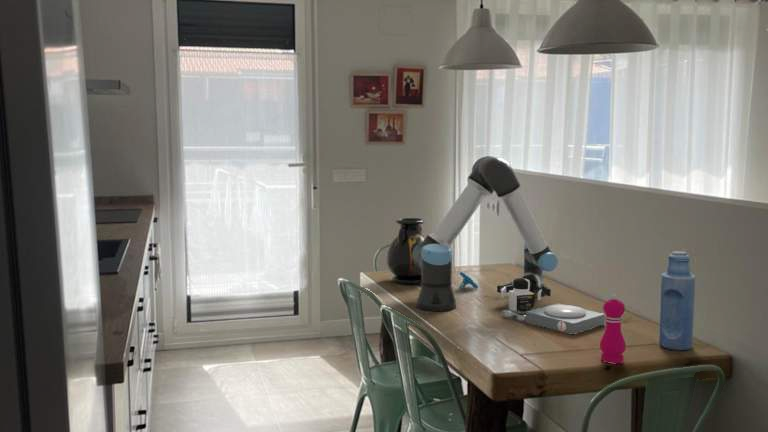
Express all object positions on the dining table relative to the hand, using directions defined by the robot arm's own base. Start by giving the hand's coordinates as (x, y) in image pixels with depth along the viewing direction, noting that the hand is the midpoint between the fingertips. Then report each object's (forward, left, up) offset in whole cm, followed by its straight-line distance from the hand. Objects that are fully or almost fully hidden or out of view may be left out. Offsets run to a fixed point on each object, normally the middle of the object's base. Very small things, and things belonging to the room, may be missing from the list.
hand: (520, 295), depth 262 cm
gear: (+14, +40, -7) cm, 43 cm away
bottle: (+5, -58, -7) cm, 59 cm away
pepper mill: (-22, -53, -7) cm, 58 cm away
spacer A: (-7, -1, -7) cm, 10 cm away
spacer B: (-7, -8, -7) cm, 13 cm away
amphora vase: (+5, +67, -7) cm, 67 cm away
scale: (0, -20, -6) cm, 21 cm away
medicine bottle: (+3, +2, -7) cm, 7 cm away
